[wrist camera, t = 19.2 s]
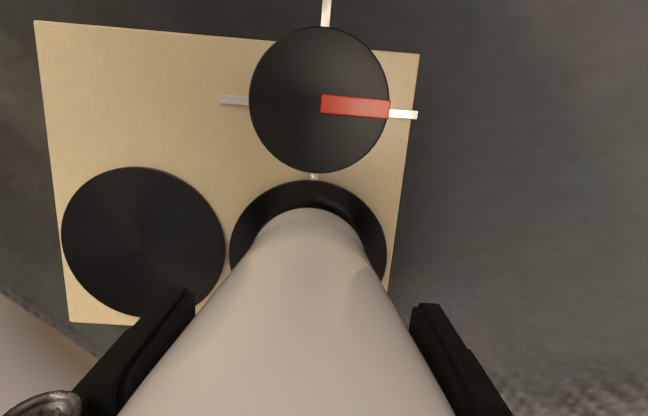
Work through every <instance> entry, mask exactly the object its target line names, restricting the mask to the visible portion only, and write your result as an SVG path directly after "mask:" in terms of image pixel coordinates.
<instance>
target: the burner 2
mask: <svg viewBox="0 0 648 416" xmlns="http://www.w3.org/2000/svg"><path fill="white" fill-rule="evenodd" d="M298 208H317V209H322V210H326V211H328V212H331V213H333V214H335V215H337V216H339V217H341V218H342V219H343V220H345V221H346V222H347V223H348V224H349V225H350V226H351V227H352V228H353V229H354V230H355V232H356V233H357V234H358V236H359V238H360V240H361V242H362V244H363V247H364V249H365V252H366V255H367V257H368V259H369V261H370V263H371V265H372V267H373V269H374V270H375V272H376V274H377V276H378V278H379V279H380V281H381V282H382V279H383V277H384V274H385V269H386V265H387V244H386V240H385V235H384V232H383V230H382V227H381V225H380V223H379V221H378V219H377V217H376V216H375V214H374V213H373V212H372V210H371V209H370V207H369V206H368V205H367V204H366V203H365V202H364V201H363V200H362V199H360V198H359V197H358V196H357V195H355V194H354V193H352V192H351V191H349V190H347V189H345V188H343V187H341V186H339V185H336V184H333V183H330V182H326V181H320V180H318V181H317V180H295V181H290V182H286V183H282V184H279V185H277V186H274V187H272V188H270V189H268V190H267V191H265V192H263V193H262V194H260V195H259V196H258V197H256V198H255V199H254V200H253V201H252V202H251V203H250V204H249V205H248V206H247V207H246V208H245V210H244V211H243V212H242V214H241V215H240V217H239V218H238V220H237V222H236V224H235V226H234V229H233V231H232V234H231V238H230V243H229V264H230V269H231V271H232V270H233V269H234V267H235V266H236V265H237V263H238V262H239V261H240V260H241V258H242V257H243V256H244V255H245V253H246V252H247V251H248V249H249V248H250V247H251V245H252V243H253V241H254V239H255V237H256V236H257V234H258V233H259V231H260V230H261V229H262V228H263V227H264V226H265V225H266V224H267V223H268V222H269V221H270V220H272V219H273V218H274V217H276V216H278V215H279V214H282V213H284V212H286V211H289V210H293V209H298Z"/></svg>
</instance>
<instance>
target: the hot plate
mask: <svg viewBox="0 0 648 416" xmlns="http://www.w3.org/2000/svg"><path fill="white" fill-rule="evenodd" d="M330 13H331V0H322V15H321V26H324V27H329V26H330ZM34 30H35V38H36V46H37V54H38V63H39V71H40V79H41V88H42V96H43V104H44V112H45V121H46V129H47V137H48V146H49V154H50V162H51V170H52V179H53V187H54V195H55V204H56V212H57V220H58V228H59V237H60V245H61V253H62V262H63V270H64V278H65V286H66V295H67V303H68V311H69V320H70V322H81V323H98V324H114V325H130V326H133V325H134V324H135V323H136V322H137V321H138V320H139V319H140V317H134V316H130V315H126V314H123V313H121V312H118V311H115V310H113V309H111V308H109V307H107V306H106V305H104V304H102V303H101V302H99V301H98V300H97V299H95V298H94V297H93V296H91V295H90V294H89V293H88V292H87V291H86V290H85V289H84V288H83V287H82V286H81V284H80V283H79V282H78V281H77V280H76V278H75V276H74V275H73V273H72V272H71V270H70V268H69V266H68V264H67V262H66V259H65V256H64V253H63V249H62V243H61V224H62V219H63V215H64V212H65V209H66V207H67V204H68V203H69V201H70V199H71V198H72V196H73V195H74V194H75V192H76V191H77V190H78V189H79V188H80V187H81V186H82V185H83V184H84V183H86V182H87V181H88V180H90V179H91V178H93V177H95V176H96V175H99V174H101V173H103V172H106V171H109V170H113V169H117V168H122V167H130V166H133V167H148V168H154V169H158V170H161V171H165V172H167V173H170V174H172V175H175V176H176V177H178V178H180V179H182V180H184V181H185V182H187V183H188V184H189V185H191V186H192V187H194V188H195V189H196V190H197V191H198V192H199V193H200V194H201V195H202V196H203V197H204V198H205V199H206V200H207V202H208V203H209V204H210V206H211V207H212V209H213V210H214V212H215V213H216V215H217V217H218V219H219V221H220V224H221V227H222V230H223V234H224V239H225V249H226V253H225V262H224V267H223V270H222V273H221V276H220V278H219V280H218V282H217V283H216V285H215V287H214V288H213V290H212V291H211V292H210V294H209V295H208V296H207V297H206V298H205V299H204V300H203V301H202V302H200V303H199V304H198V305H196V306H195V313H196V314H197V313H198V312H199V311H200V309H201V308H202V307H203V306H204V304H205V303H206V302H207V301H208V300H209V298H210V297H211V296H212V295H213V293H214V292H215V291H216V290H217V288H218V287H219V286H220V285H221V283H222V282H223V281H224V280H225V279H226V277H227V276H228V275H229V274H230V272H231V269H230V264H229V243H230V238H231V234H232V231H233V229H234V226H235V224H236V222H237V220H238V218H239V217H240V215H241V214H242V212H243V211H244V210H245V208H246V207H247V206H248V205H249V204H250V203H251V202H252V201H253V200H254V199H255V198H256V197H258V196H259V195H260V194H262V193H263V192H265V191H267V190H268V189H270V188H272V187H274V186H277V185H279V184H282V183H286V182H290V181H295V180H317V181H318V180H320V181H326V182H330V183H333V184H336V185H339V186H341V187H343V188H345V189H347V190H349V191H351V192H352V193H354V194H355V195H357V196H358V197H359V198H360V199H362V200H363V201H364V202H365V203H366V204H367V205H368V206H369V207H370V209H371V210H372V212H373V213H374V214H375V216H376V217H377V219H378V221H379V223H380V225H381V227H382V230H383V232H384V235H385V240H386V244H387V265H386V269H385V274H384V277H383V279H382V282H381V283H382V285H383V287H384V288H385V290H386V292H387V289H388V282H389V275H390V268H391V261H392V253H393V246H394V239H395V232H396V224H397V217H398V210H399V203H400V195H401V188H402V181H403V174H404V166H405V159H406V152H407V145H408V138H409V130H410V123H411V119H417V115H418V111H412V109H413V101H414V94H415V87H416V80H417V72H418V65H419V58H420V55H419V54H413V53H401V52H390V51H379V50H371V51H372V52H373V53H374V55H375V56H376V58H377V59H378V61H379V62H380V64H381V66H382V68H383V70H384V73H385V76H386V79H387V82H388V88H389V98H390V101H391V104H390V111H389V118H388V119H387V122H386V125H385V128H384V130H383V132H382V134H381V137H380V138H379V140H378V141H377V143H376V144H375V146H374V147H373V148H372V149H371V151H370V152H369V153H368V154H367V155H366V156H364V157H363V158H362V159H361V160H359V161H358V162H357V163H355V164H353V165H351V166H350V167H348V168H345V169H343V170H340V171H336V172H332V173H324V174H313V173H307V172H302V171H299V170H296V169H293V168H291V167H289V166H287V165H285V164H284V163H282V162H280V161H279V160H278V159H276V158H275V157H274V156H273V155H272V154H271V153H270V152H269V151H268V150H267V149H266V148H265V146H264V145H263V144H262V143H261V141H260V139H259V137H258V136H257V134H256V132H255V129H254V127H253V124H252V121H251V117H250V112H249V100H248V96H249V87H250V82H251V78H252V75H253V73H254V70H255V68H256V66H257V64H258V62H259V60H260V59H261V57H262V56H263V54H264V53H265V52H266V51H267V50H268V48H269V47H270V46H271V45H272V44H274V43H275V42H276V41H266V40H254V39H243V38H232V37H220V36H209V35H198V34H186V33H175V32H164V31H152V30H141V29H130V28H119V27H107V26H96V25H85V24H73V23H62V22H51V21H39V20H35V21H34Z"/></svg>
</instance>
